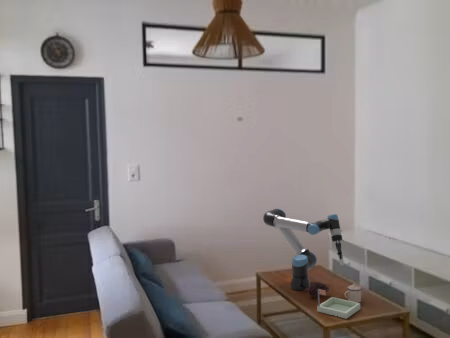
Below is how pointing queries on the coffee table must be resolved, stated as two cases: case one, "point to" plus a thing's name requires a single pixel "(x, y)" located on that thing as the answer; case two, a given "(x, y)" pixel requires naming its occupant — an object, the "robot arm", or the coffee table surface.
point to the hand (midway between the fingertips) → (342, 264)
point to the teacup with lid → (354, 293)
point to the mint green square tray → (337, 306)
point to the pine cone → (316, 289)
